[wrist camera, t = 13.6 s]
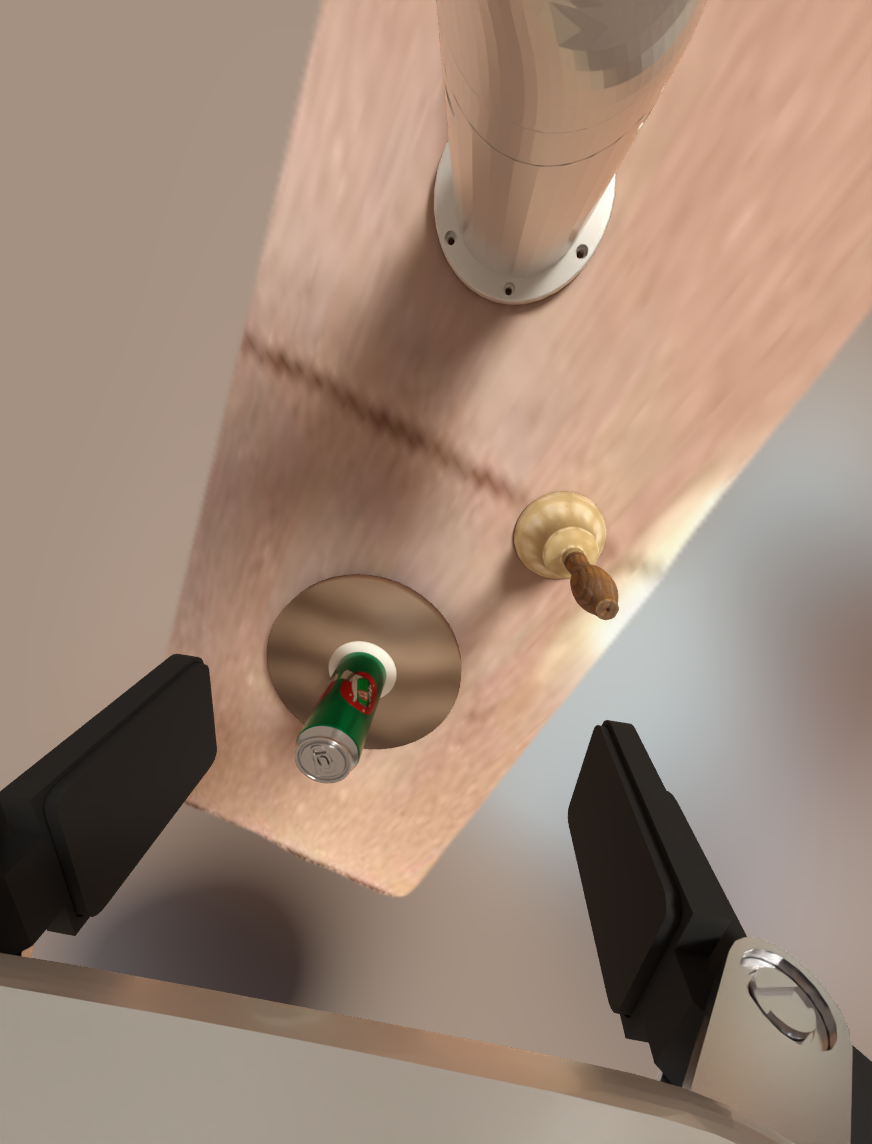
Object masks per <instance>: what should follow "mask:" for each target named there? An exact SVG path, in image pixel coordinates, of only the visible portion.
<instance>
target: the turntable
mask: <svg viewBox="0 0 872 1144" xmlns="http://www.w3.org/2000/svg"><path fill="white" fill-rule="evenodd" d="M353 652H365V653H368V654H371V655H373V656H375V657H376V658H377V659H379V660H380V661H381V663H382V664H383V666H384V667H385V670H386V676H387V677H386V682H385V685H384V688H383V691H382V694H381V697H380V700H379V703H378V706H377V709H376V712H375V715H374V717H373V720H372V723H371V726H370V729H369V732H368V735H367V738H366V741H365V744H364V747H363V748H364V749H387V748H394V747H399V746H403V745H406V744H409V743H412V742H415V741H417V740H419V739H421V738H423V737H424V736H426V735H427V734H429V733H430V732H432V731H433V730H434V729H436V728H437V727H438V726H439V725H440V724H441V723H442V722H443V721H444V719H445V718H446V717H447V716H448V714H449V713H450V711H451V709H452V708H453V706H454V704H455V701H456V699H457V696H458V692H459V688H460V679H461V656H460V651H459V647H458V643H457V641H456V638H455V635H454V633H453V631H452V629H451V627H450V626H449V624H448V622H447V621H446V620H445V618H444V617H443V615H442V614H441V613H440V612H439V611H438V610H437V609H436V608H435V607H434V605H433V604H432V603H430V602H429V601H428V600H427V599H425V598H424V597H423V596H422V595H420V594H419V593H417V592H415V591H414V590H412V589H411V588H409V587H407V586H404V585H402V584H400V583H398V582H395V581H392V580H389V579H386V578H382V577H377V576H372V575H360V574H356V575H343V576H337V577H332V578H329V579H326V580H323V581H320V582H318V583H316V584H314V585H312V586H310V587H308V588H307V589H305V590H304V591H302V592H301V593H300V594H299V595H298V596H296V597H295V598H294V599H293V600H292V601H291V602H290V603H289V604H288V605H287V606H286V607H285V608H284V610H283V611H282V612H281V614H280V615H279V616H278V618H277V620H276V622H275V623H274V625H273V628H272V630H271V633H270V636H269V641H268V647H267V661H268V669H269V673H270V677H271V680H272V682H273V685H274V687H275V690H276V691H277V693H278V695H279V697H280V699H281V700H282V701H283V703H284V704H285V706H286V707H287V708H288V709H289V710H290V712H291V713H292V714H293V715H294V716H295V717H296V718H297V719H298V720H300V721H301V722H302V723H303V724H305V723H306V721H307V719H308V717H309V715H310V714H311V712H312V710H313V708H314V706H315V705H316V703H317V701H318V699H319V697H320V696H321V694H322V692H323V690H324V688H325V687H326V685H327V683H328V681H329V679H330V678H331V676H332V674H333V672H334V670H335V669H336V667H337V665H338V663H339V662H340V660H341V659H342V658H343V657H344V656H346V655H347V654H350V653H353Z"/></svg>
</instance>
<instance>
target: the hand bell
mask: <svg viewBox="0 0 872 1144" xmlns="http://www.w3.org/2000/svg"><path fill="white" fill-rule="evenodd" d="M605 540H606V524H605V519H604V517H603V515H602V513H601V511H600V510H599V508H598V507H597V506H596V504H594V503H593V502H592V501H591V500H590V499H588V498H586V497H585V496H582V495H580V494H577V493H573V492H565V491H561V492H554V493H550V494H547V495H544V496H542V497H540V498H538V499H536V500H535V501H534V502H532V503H531V504H530V505H529V506H528V507H527V508H526V509H525V510H524V511H523V512H522V514H521V516H520V517H519V519H518V521H517V524H516V527H515V532H514V546H515V550H516V552H517V555H518V557H519V559H520V560H521V562H522V563H523V564H524V565H525V566H526V567H527V568H528V569H529V570H530V571H532V572H534V573H535V574H537V575H540V576H543V577H546V578H553V579H561V578H565V579H571V580H570V585H571V590H572V593H573V596H574V598H575V600H576V601H577V603H578V604H579V605H580V606H581V607H582V608H583V609H584V610H586V611H587V612H589V613H591V614H594V615H596V616H598V617H599V618H600V619H603V620H609V619H612V618H614V617H615V616H616V614H617V612H618V610H619V607H618V590H617V587H616V584H615V582H614V581H613V579H612V578H611V577H610V575H609V574H608V573H606V572H605V571H604V570H603V569H601V568H600V567H598V566H595V563H596V561H597V559H598V557H599V555H600V554H601V552H602V550H603V547H604V544H605Z"/></svg>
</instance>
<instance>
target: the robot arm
mask: <svg viewBox="0 0 872 1144" xmlns="http://www.w3.org/2000/svg"><path fill="white" fill-rule="evenodd" d="M705 3H706V0H436V4H437V14H438V25H439V39H440V50H441V61H442V71H443V82H444V92H445V103H446V114H447V124H448V135H449V139H448V141H447V143H446V145H445V147H444V150H443V153H442V156H441V159H440V162H439V165H438V169H437V175H436V181H435V187H434V215H435V222H436V229H437V233H438V237H439V242H440V245H441V247H442V250H443V252H444V255H445V257H446V260H447V262H448V263H449V265H450V266H451V268H452V269H453V271H454V273H455V274H456V276H457V277H458V278H459V279H460V280H461V281H462V282H463V283H464V284H465V285H466V286H467V287H468V288H469V289H471V290H472V291H474V292H475V293H476V294H478V295H479V296H481V297H483V298H486V299H488V300H491V301H493V302H496V303H502V304H508V305H517V304H528V303H532V302H535V301H539V300H542V299H544V298H546V297H548V296H550V295H552V294H554V293H556V292H558V291H559V290H560V289H562V288H563V287H564V286H566V285H567V284H568V283H570V282H571V281H572V280H573V279H574V278H575V277H576V276H577V275H578V274H579V272H580V271H581V270H582V269H583V268H584V267H585V266H586V264H587V263H588V262H589V260H590V259H591V258H592V256H593V254H594V253H595V251H596V249H597V247H598V246H599V244H600V242H601V240H602V238H603V236H604V234H605V231H606V228H607V226H608V223H609V220H610V218H611V213H612V208H613V204H614V199H615V189H616V171H617V169H618V168H619V166H620V164H621V162H622V161H623V159H624V157H625V155H626V154H627V152H628V150H629V148H630V147H631V145H632V143H633V141H634V140H635V138H636V136H637V134H638V133H639V131H640V129H641V128H642V126H643V124H644V122H645V121H646V119H647V117H648V115H649V114H650V112H651V110H652V108H653V107H654V105H655V103H656V101H657V99H658V98H659V96H660V94H661V92H662V91H663V89H664V87H665V85H666V83H667V82H668V80H669V78H670V76H671V74H672V73H673V71H674V69H675V67H676V66H677V64H678V62H679V60H680V58H681V57H682V55H683V53H684V51H685V49H686V47H687V45H688V43H689V41H690V39H691V37H692V35H693V32H694V30H695V28H696V26H697V23H698V21H699V19H700V16H701V14H702V12H703V9H704V6H705ZM450 239H453V240H454V241H455V242H454V244H453V245H449V244H448V241H449V240H450ZM578 252H580V253H582V258H581V259H579V258H577V256H576V254H577V253H578ZM506 289H511V291H512V294H510V295H506V293H505V290H506ZM216 753H217V745H216V735H215V725H214V715H213V704H212V694H211V684H210V674H209V668H208V666H207V665H205V664H204V663H203V660H202V659H201V658H199V657H194V656H188V655H181V654H174V655H172V656H170V657H169V658H168V659H166V660H165V661H164V662H163V663H161V664H160V665H159V666H157V667H156V668H155V669H154V670H152V671H151V672H150V673H149V674H147V675H146V676H145V677H144V678H142V679H141V680H140V681H139V682H137V683H136V684H135V685H134V686H132V687H131V688H130V689H128V690H127V691H126V692H125V693H123V694H122V695H121V696H120V697H119V698H117V699H116V700H115V701H114V702H112V703H111V704H110V705H108V706H107V707H106V708H105V709H104V710H102V711H101V712H100V713H98V714H97V715H96V716H94V717H93V718H92V719H91V720H89V721H88V722H87V723H86V724H84V725H83V726H82V727H81V728H79V729H78V730H77V731H76V732H74V733H73V734H72V735H71V736H69V737H68V738H67V739H66V740H64V741H63V742H62V743H60V744H59V745H58V746H57V747H56V748H54V749H53V750H52V751H50V752H49V753H48V754H47V755H45V756H44V757H43V758H42V759H40V760H39V761H38V762H37V763H35V764H34V765H33V766H32V767H30V768H29V769H28V770H27V771H25V772H24V773H23V774H21V775H20V776H19V777H18V778H17V779H15V780H14V781H13V782H11V783H10V784H9V785H8V786H6V787H5V788H4V789H3V790H1V791H0V1144H872V1062H871V1061H870V1060H869V1059H868V1058H867V1057H866V1056H864V1055H863V1054H862V1053H861V1052H860V1051H859V1050H857V1049H856V1048H855V1047H854V1046H853V1045H852V1042H851V1036H850V1030H849V1028H848V1026H847V1023H846V1021H845V1019H844V1017H843V1014H842V1012H841V1010H840V1008H839V1007H838V1005H837V1004H836V1002H835V1001H834V999H833V998H832V996H831V995H830V993H829V992H828V990H827V989H826V988H825V987H824V986H823V984H822V983H821V982H820V981H819V980H818V979H817V978H816V977H815V975H814V974H813V973H812V972H811V971H810V970H809V969H808V968H807V967H805V966H804V965H803V964H802V963H801V962H800V961H798V960H797V959H796V958H795V957H794V956H793V955H791V954H790V953H788V952H786V951H785V950H783V949H782V948H780V947H778V946H777V945H775V944H772V943H770V942H767V941H765V940H763V939H760V938H752V937H747V936H746V934H745V932H744V930H743V928H742V926H741V924H740V922H739V920H738V918H737V916H736V914H735V913H734V911H733V909H732V907H731V905H730V903H729V901H728V899H727V897H726V895H725V893H724V891H723V889H722V887H721V886H720V884H719V882H718V880H717V878H716V876H715V874H714V872H713V870H712V868H711V866H710V864H709V862H708V860H707V858H706V856H705V855H704V853H703V851H702V849H701V847H700V845H699V843H698V841H697V839H696V838H695V835H694V833H693V831H692V830H691V828H690V826H689V824H688V822H687V820H686V818H685V816H684V814H683V812H682V810H681V808H680V806H679V804H678V803H677V801H676V799H675V798H674V796H673V795H672V794H671V793H670V792H668V791H666V789H665V787H664V785H663V783H662V781H661V779H660V777H659V775H658V773H657V771H656V769H655V767H654V765H653V763H652V761H651V759H650V758H649V755H648V753H647V751H646V749H645V747H644V745H643V743H642V742H641V739H640V737H639V735H638V733H637V732H636V730H635V728H634V726H633V725H632V724H629V723H622V722H615V721H609V720H606V721H604V722H603V724H602V726H600V725H597V726H595V728H594V730H593V734H592V737H591V740H590V743H589V746H588V749H587V752H586V755H585V758H584V761H583V765H582V768H581V771H580V774H579V777H578V780H577V783H576V786H575V789H574V792H573V796H572V799H571V802H570V805H569V809H568V823H569V828H570V833H571V837H572V842H573V846H574V851H575V855H576V860H577V864H578V868H579V873H580V877H581V882H582V886H583V891H584V895H585V899H586V904H587V908H588V913H589V917H590V921H591V926H592V931H593V935H594V940H595V944H596V948H597V953H598V957H599V962H600V966H601V971H602V975H603V979H604V984H605V988H606V993H607V997H608V1001H609V1004H610V1007H611V1009H612V1011H613V1012H614V1013H618V1014H620V1016H621V1020H622V1025H623V1029H624V1033H625V1038H627V1039H632V1040H638V1041H643V1042H648V1043H649V1045H650V1048H651V1052H652V1055H653V1059H654V1063H655V1064H656V1065H657V1067H658V1068H659V1071H658V1074H657V1077H656V1080H653V1079H650V1078H646V1077H643V1076H639V1075H636V1074H632V1073H628V1072H622V1071H618V1070H613V1069H609V1068H604V1067H600V1066H595V1065H591V1064H586V1063H582V1062H577V1061H573V1060H568V1059H564V1058H559V1057H554V1056H549V1055H545V1054H540V1053H536V1052H531V1051H526V1050H521V1049H515V1048H511V1047H506V1046H501V1045H496V1044H490V1043H485V1042H480V1041H475V1040H470V1039H465V1038H460V1037H454V1036H449V1035H444V1034H439V1033H434V1032H429V1031H424V1030H419V1029H414V1028H409V1027H403V1026H398V1025H393V1024H387V1023H383V1022H378V1021H372V1020H367V1019H362V1018H357V1017H351V1016H346V1015H341V1014H336V1013H330V1012H325V1011H320V1010H314V1009H309V1008H304V1007H298V1006H293V1005H288V1004H282V1003H277V1002H272V1001H267V1000H261V999H256V998H251V997H246V996H240V995H235V994H229V993H224V992H219V991H214V990H208V989H202V988H197V987H192V986H186V985H180V984H175V983H170V982H165V981H159V980H154V979H148V978H142V977H137V976H131V975H126V974H120V973H114V972H110V971H104V970H99V969H93V968H88V967H81V966H77V965H71V964H65V963H60V962H53V961H47V960H40V959H35V958H32V953H33V946H34V943H35V942H36V941H37V940H38V939H39V937H40V936H41V935H42V934H43V933H44V931H45V930H46V929H47V931H51V932H57V933H62V934H67V935H73V936H76V934H77V933H78V932H79V930H80V929H81V928H82V926H83V925H84V924H85V923H86V921H87V920H88V919H89V917H94V916H96V915H97V914H99V913H100V912H101V911H102V910H103V909H104V907H105V906H106V905H107V904H108V902H109V901H110V900H111V898H112V897H113V896H114V894H115V893H116V892H117V890H118V889H119V888H120V886H121V885H122V884H123V882H124V881H125V880H126V878H127V877H128V876H129V874H130V873H131V872H132V870H133V869H134V868H135V866H136V865H137V864H138V862H139V861H140V860H141V858H142V857H143V856H144V854H145V853H146V852H147V850H148V849H149V848H150V846H151V845H152V844H153V842H154V841H155V840H156V839H157V837H158V836H159V834H160V833H161V832H162V831H163V829H164V828H165V827H166V825H167V824H168V823H169V821H170V820H171V819H172V817H173V816H174V815H175V813H176V812H177V811H178V809H179V808H180V807H181V805H182V804H183V803H184V801H185V800H186V799H187V797H188V796H189V795H190V793H191V792H192V791H193V789H194V788H195V787H196V785H197V784H198V783H199V781H200V780H201V779H202V777H203V776H204V775H205V773H206V772H207V771H208V769H209V768H210V767H211V765H212V764H213V762H214V760H215V757H216Z"/></svg>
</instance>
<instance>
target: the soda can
mask: <svg viewBox="0 0 872 1144" xmlns="http://www.w3.org/2000/svg"><path fill="white" fill-rule="evenodd" d="M386 677H387V676H386V670H385V667H384V666H383V664H382V663H381V661H380V660H379V659H377V658H376V657H375V656H373V655H371V654H368V653H365V652H353V653H350V654H347V655H346V656H344V657H343V658H342V659H341V660H340V662H339V663H338V665H337V667H336V669H335V670H334V672H333V674H332V676H331V678H330V679H329V681H328V683H327V685H326V687H325V688H324V690H323V692H322V694H321V696H320V697H319V699H318V701H317V703H316V705H315V706H314V708H313V710H312V712H311V714H310V715H309V717H308V719H307V721H306V723H305V724H304V726H303V728H302V730H301V732H300V733H299V735H298V737H297V740H296V752H295V761H296V764H297V766H298V768H299V769H300V771H301V772H302V773H303V774H304V775H306V776H307V777H308V778H310V779H312V780H314V781H317V782H321V783H335V782H338V781H341V780H343V779H344V778H345V777H346V776H347V775H348V774H349V772H350V771H351V770H353V769H354V768H355V767H356V765H357V764H358V762H359V759H360V756H361V753H362V750H363V747H364V744H365V741H366V738H367V735H368V732H369V729H370V726H371V723H372V720H373V717H374V715H375V712H376V709H377V706H378V703H379V700H380V697H381V694H382V691H383V688H384V685H385V682H386Z"/></svg>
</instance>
